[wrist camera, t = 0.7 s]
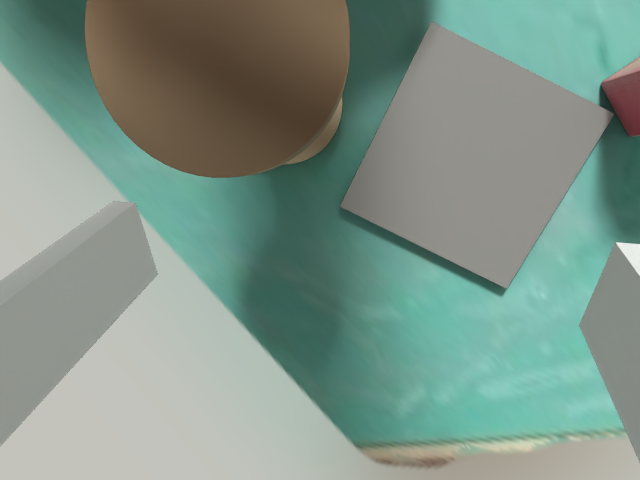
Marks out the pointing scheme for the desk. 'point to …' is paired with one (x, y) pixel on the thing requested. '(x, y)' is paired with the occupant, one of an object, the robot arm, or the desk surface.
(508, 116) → the mat
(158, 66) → the stool
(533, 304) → the desk surface
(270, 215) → the desk surface
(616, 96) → the small box
